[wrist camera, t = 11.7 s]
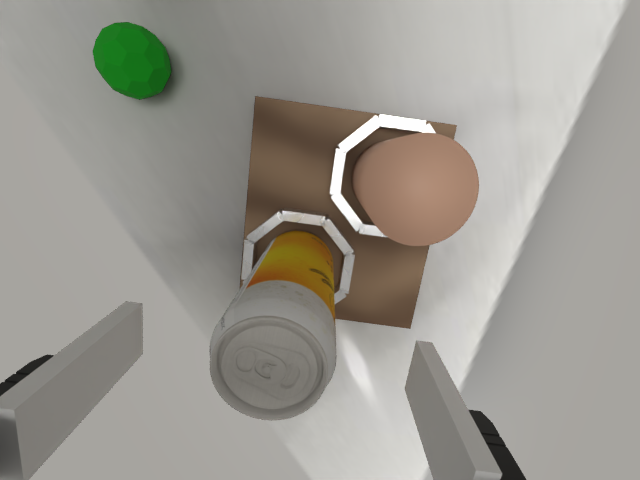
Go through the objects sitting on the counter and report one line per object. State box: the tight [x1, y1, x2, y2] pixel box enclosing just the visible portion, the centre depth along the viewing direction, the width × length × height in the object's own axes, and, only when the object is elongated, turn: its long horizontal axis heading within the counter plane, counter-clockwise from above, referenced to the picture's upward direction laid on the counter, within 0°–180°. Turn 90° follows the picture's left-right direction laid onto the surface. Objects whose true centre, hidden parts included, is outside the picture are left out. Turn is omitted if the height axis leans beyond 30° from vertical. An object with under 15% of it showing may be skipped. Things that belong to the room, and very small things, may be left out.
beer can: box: [210, 231, 336, 420], centre depth 22 cm, size 6×6×15 cm
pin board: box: [240, 96, 457, 329], centre depth 29 cm, size 18×16×2 cm
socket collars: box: [241, 114, 436, 304], centre depth 28 cm, size 17×16×2 cm
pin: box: [351, 133, 479, 246], centre depth 22 cm, size 6×6×10 cm
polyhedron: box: [93, 22, 171, 100], centre depth 25 cm, size 5×5×5 cm
